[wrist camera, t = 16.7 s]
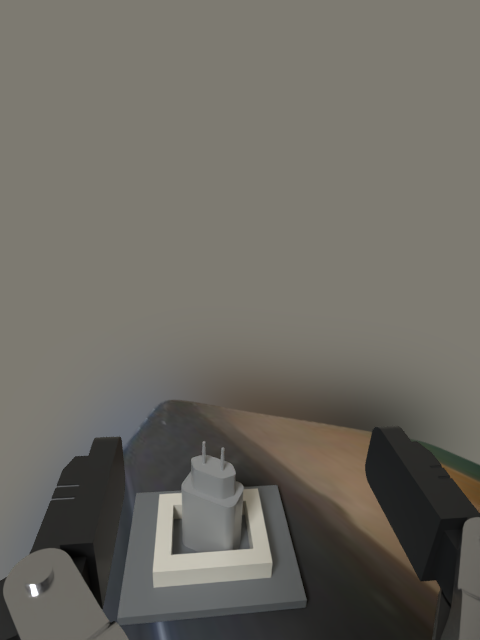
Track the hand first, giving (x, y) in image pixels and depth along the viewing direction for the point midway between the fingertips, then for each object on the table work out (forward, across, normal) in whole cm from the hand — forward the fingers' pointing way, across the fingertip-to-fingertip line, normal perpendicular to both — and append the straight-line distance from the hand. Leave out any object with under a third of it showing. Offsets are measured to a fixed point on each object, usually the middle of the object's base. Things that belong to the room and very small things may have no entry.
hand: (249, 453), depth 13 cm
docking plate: (+18, 0, +28) cm, 33 cm away
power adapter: (+18, 0, +27) cm, 33 cm away
